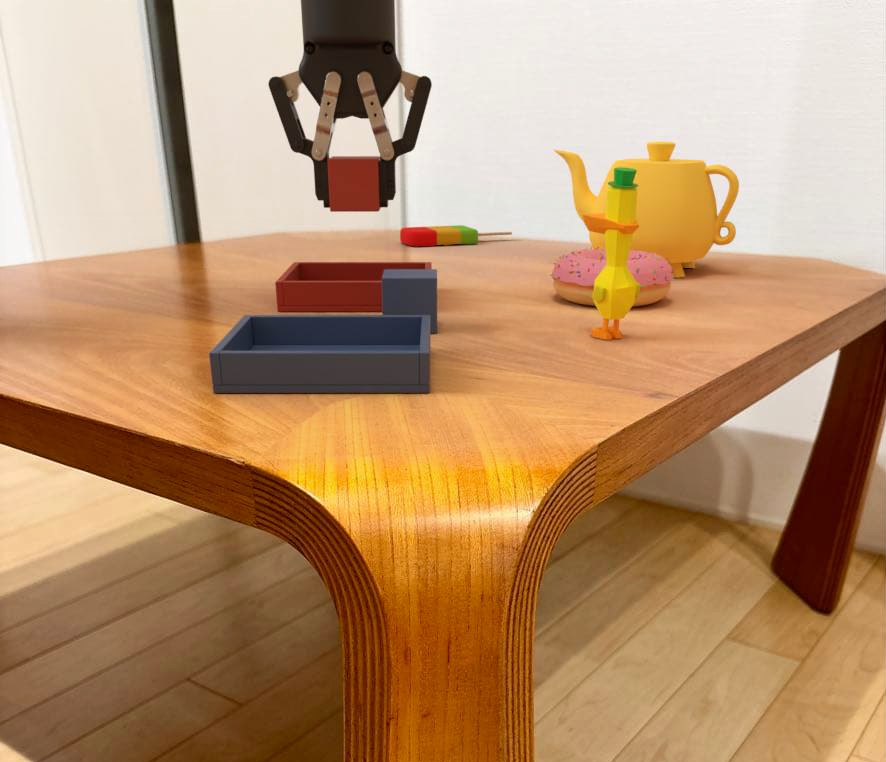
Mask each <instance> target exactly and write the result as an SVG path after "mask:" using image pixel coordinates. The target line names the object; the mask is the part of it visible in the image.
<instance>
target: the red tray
mask: <svg viewBox="0 0 886 762" xmlns="http://www.w3.org/2000/svg"><path fill="white" fill-rule="evenodd" d="M432 264H433V263H432V261H294V262H292V264H291V265H290V266H289V267H288V268H287V269H286V270H285V271H284V272H283V273H282V274H281V276H279V277H278V279H277V280H275V282H274V283H275V296H276V298H275V299H276V311H277V312H280V313H281V312H282V313H283V312H284V313H285V312H287V313H289V312H291V313H294V312H296V313H297V312H298V313H299V312H301V313H302V312H307V313H308V312H309V313H310V312H313V313H315V312H316V313H317V312H319V313H320V312H321V313H323V312H337V313H339V312H344V313H346V312H353V313H354V312H355V313H357V312H359V313H360V312H362V313H363V312H366V313H367V312H368V313H369V312H377V313H378V312H381V313H383V312H382V276H383V273H384V270H385V269H432Z"/></svg>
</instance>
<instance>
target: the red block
mask: <svg viewBox="0 0 886 762" xmlns="http://www.w3.org/2000/svg"><path fill="white" fill-rule="evenodd" d="M379 161H380V155H372V156H371V155H359V156H356V155H354V156H352V155H351V156H349V155H346V156H343V155H342V156H341V155H338V156H337V155H336V156H331V157H329V159H328V179H329V198H330V208H329V211H330V212H331V213H332V212H333V213H334V212H339V213H341V212H343V213H344V212H347V213H352V212H353V213H354V212H355V213H356V212H357V213H359V212H361V213H362V212H363V213H364V212H366V213H367V212H372V213H373V212H380V210H381V209H382V207H380V200H379V167H378V162H379Z"/></svg>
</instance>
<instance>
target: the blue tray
mask: <svg viewBox="0 0 886 762" xmlns="http://www.w3.org/2000/svg"><path fill="white" fill-rule="evenodd" d="M208 357H209V366H210V372H211V373H210V374H211V383H212V392H213V394H429V393H430V392H431V390H430V389H431V333H430V315H383V314H253V315H252V314H244V315H243V316H242V317H241V318H240V319H239V320H238V322H237V323H235V325H234V326H233V327H232V328H231V329H230V330H229V331H228V332H227V333H226V334H225V335H224V336H223V338H222V339H221V340H219V342H218V343H217V344H216V345H215V346H214V347H213V348H212V349H211V350H210V351H209V353H208Z"/></svg>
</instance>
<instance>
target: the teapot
mask: <svg viewBox="0 0 886 762" xmlns="http://www.w3.org/2000/svg"><path fill="white" fill-rule="evenodd" d="M675 148H676V143H675V142H672V141H650V142H647V143H646V149H647V154H648V157H649V158H623V159H617V160H614V162H613V163H612V164H611V166H610V168H609V169H608V171H607V173H606V177H605V178H604V181H603V183H602V185H601V187H600V190H599V192H598V195H595V194H594V193H593V192H592V191H591V188H590V186H589V183H588V179H587V170H586V166H585V163H584V161H583V159H582V158H581V156H580V155H579V154H577V153H575V152H571V151H565V150H560V149H553V151H554V152H555V153H556V154H558V155H559V156H560V157H561V158H562V159H563V160H564V162H565V163H566V164H567V166H568V169H569V171H570V176H571V185H572V196H573V197H572V198H573V204H574V207H575V212H576V213H577V215H578V217H579V218H580V220H581V221H582V223H584V217H583V215H586V214H606V202H607V190H608V189H609V188H610V186H611V185H608V182H611V181H614V168H618V167H623V168H632V169H635V170H637V172H636V175H635V178H634V181H633V183H635V184H638V187H636V189H637V190H638V193H637V205H636V217H635V219H636V221H637V222H638V224H639V228H638V229H637V230H636V231H635V232H634V233H633V237H632V242H631V247H630V250H635V251H644V252H648V251H649V252H650V253H654V254H655V252H656V254H657V255H659V256H661V257H663V258H664V259H667V258H668V259H667V261H668V262H670V266H672V267H671V268H672V270H674V271H673V272H674V273H673V275H675V276H674V278H684V277H686V273H685V271H684V269H683V268H693V269H695V268H696V265H695V264H694V261H698V260H701V259H703V258H705V257H706V255H707V254H708V253H709V251H710V250H711V249H712V247H713V245H714V244H715V245H716V246H726V245H729V244H731V243H732V242H733V241H734V240H735V238H736V234H737V229H736V225H735V224H734V223H733V222H731V221H727V218H728V216H729V214H730V212H731V210H732V208H733V207H734V205H735V202H736V199H737V197H738V194H739V191H740V181H739V178H738V175H737V174H736V173H735V172H734V171H733V170H732V169H730V168H729V167H728V166H725V165H722V164H711V165H708V166H707V164H706V162H705V160H702V159H688V158H687V159H685V158H681V159H680V158H671V157H672V155H673V152H674V150H675ZM710 175H720V176H722V177H724V178H725V179H727V181H728V184H729V188H728V192H727V196H726V198H725V200H724V203H723V205H722V207H721V209H720V211H719V213H718V206H717V200H716V195H715V191H714V187H713V183H712V179H711V176H710ZM722 228H723V229H724V228H726V229H727V232H728V233H727V235H725V236H722V235H721V230H722ZM588 237H589V242H590V244H591V246H592V249H595V248H596V249H597V247H599V248H600V249H606V245H605V234H601V233H596V232H592V231H589V230H588ZM599 248H598V249H599Z"/></svg>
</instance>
